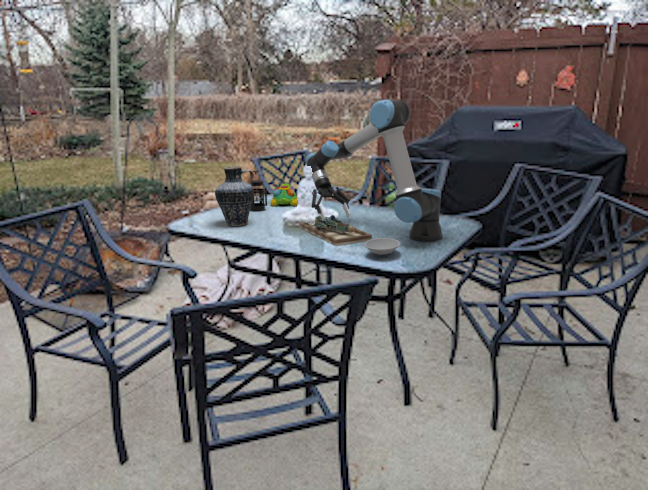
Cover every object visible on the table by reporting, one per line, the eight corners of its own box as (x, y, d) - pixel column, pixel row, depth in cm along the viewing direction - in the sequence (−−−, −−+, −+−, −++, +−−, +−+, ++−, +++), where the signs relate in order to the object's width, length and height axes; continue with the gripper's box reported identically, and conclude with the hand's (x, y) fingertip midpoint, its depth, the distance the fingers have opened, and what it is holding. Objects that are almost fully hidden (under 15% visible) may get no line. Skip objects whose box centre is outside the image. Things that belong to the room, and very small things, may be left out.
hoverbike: (322, 225, 252) (322, 209, 249) (360, 234, 235) (361, 217, 233) (308, 229, 245) (308, 212, 243) (347, 238, 229) (347, 221, 226)
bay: (371, 240, 230) (371, 234, 229) (336, 245, 221) (336, 240, 220) (332, 223, 261) (332, 218, 260) (299, 227, 252) (299, 222, 252)
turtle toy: (299, 200, 321) (299, 182, 317) (298, 207, 298) (297, 188, 295) (273, 200, 320) (272, 182, 317) (269, 208, 298) (269, 188, 295)
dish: (390, 263, 198) (390, 251, 196) (357, 258, 204) (357, 246, 203) (405, 251, 213) (406, 240, 211) (374, 247, 219) (374, 236, 218)
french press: (245, 210, 291) (243, 171, 284) (253, 207, 299) (251, 169, 292) (262, 212, 286) (261, 172, 279) (270, 209, 294) (269, 170, 288)
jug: (228, 231, 246) (225, 170, 238) (210, 224, 261) (206, 166, 252) (264, 224, 259) (261, 166, 250) (244, 218, 273) (241, 163, 265)
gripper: (340, 183, 254) (355, 218, 245) (296, 188, 242) (310, 224, 234) (346, 174, 248) (361, 209, 239) (301, 178, 236) (315, 215, 228)
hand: (336, 217), depth 236 cm, fingers open, 13 cm apart
